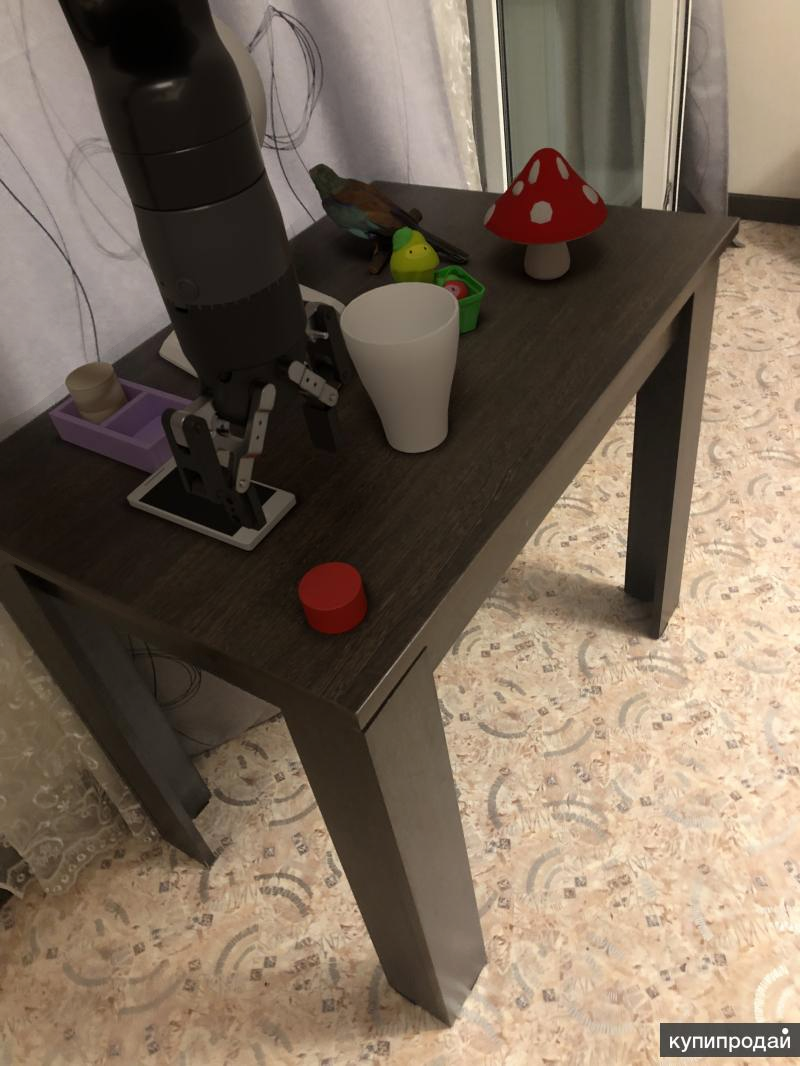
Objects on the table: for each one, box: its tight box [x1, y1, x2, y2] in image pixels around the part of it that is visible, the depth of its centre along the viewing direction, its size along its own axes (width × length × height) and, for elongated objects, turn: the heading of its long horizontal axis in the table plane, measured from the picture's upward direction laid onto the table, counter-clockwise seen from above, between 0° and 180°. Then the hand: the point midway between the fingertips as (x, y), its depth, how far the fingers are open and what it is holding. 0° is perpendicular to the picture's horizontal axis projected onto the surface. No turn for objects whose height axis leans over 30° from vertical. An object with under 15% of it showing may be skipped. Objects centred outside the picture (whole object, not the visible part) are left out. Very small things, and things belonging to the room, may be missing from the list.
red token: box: [297, 561, 368, 635], centre depth 64 cm, size 5×5×3 cm
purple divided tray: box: [48, 376, 194, 475], centre depth 85 cm, size 8×15×4 cm, turn 57°
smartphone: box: [126, 457, 297, 551], centre depth 76 cm, size 7×15×1 cm, turn 59°
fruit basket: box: [389, 227, 486, 335], centre depth 90 cm, size 11×9×11 cm
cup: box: [340, 282, 460, 454], centre depth 76 cm, size 10×10×14 cm
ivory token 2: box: [79, 393, 129, 425], centre depth 87 cm, size 5×5×3 cm
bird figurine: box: [308, 163, 470, 275], centre depth 104 cm, size 13×10×20 cm
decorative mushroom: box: [483, 147, 609, 281], centre depth 94 cm, size 14×14×15 cm
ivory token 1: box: [64, 361, 124, 413], centre depth 85 cm, size 5×5×3 cm
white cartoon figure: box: [89, 13, 346, 379], centre depth 86 cm, size 20×23×35 cm
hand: (291, 484), depth 56 cm, fingers open, 8 cm apart
